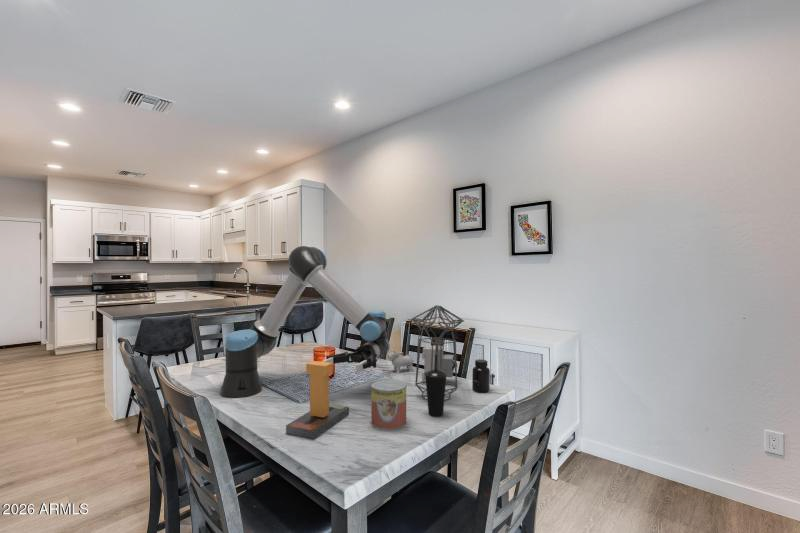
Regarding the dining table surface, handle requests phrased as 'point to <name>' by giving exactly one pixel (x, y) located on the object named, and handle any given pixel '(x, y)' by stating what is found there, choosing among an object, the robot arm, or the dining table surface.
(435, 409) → the drinking cup
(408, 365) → the dog figurine
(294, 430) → the switch plate
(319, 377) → the handle
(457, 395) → the dining table surface
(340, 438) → the dining table surface
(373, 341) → the robot arm
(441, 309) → the geometric lantern
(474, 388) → the supplement bottle
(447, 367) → the circuit breaker
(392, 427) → the canned food
